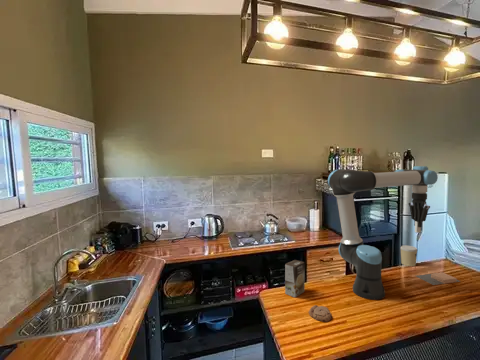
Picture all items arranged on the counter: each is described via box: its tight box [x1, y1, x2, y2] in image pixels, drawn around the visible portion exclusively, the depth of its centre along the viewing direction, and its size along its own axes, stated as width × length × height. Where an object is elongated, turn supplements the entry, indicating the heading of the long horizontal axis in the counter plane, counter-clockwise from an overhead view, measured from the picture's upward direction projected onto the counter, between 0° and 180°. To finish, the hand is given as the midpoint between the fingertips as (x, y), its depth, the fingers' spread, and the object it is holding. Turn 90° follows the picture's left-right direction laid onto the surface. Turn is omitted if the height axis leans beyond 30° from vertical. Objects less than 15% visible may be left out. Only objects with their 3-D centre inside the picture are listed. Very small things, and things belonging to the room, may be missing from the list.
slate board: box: [415, 272, 461, 286], centre depth 152 cm, size 18×12×1 cm, turn 101°
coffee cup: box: [400, 245, 418, 267], centre depth 173 cm, size 9×9×12 cm
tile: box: [430, 272, 457, 284], centre depth 150 cm, size 8×2×8 cm
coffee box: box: [284, 259, 306, 298], centre depth 141 cm, size 9×6×16 cm
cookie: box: [308, 304, 333, 323], centre depth 120 cm, size 10×11×3 cm
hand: (417, 232), depth 158 cm, fingers closed
